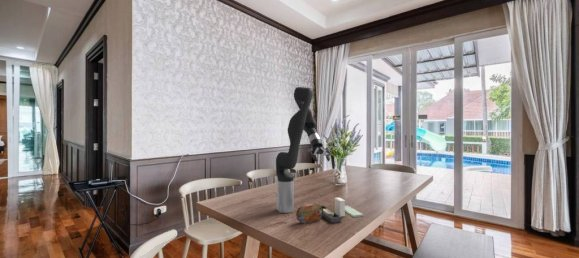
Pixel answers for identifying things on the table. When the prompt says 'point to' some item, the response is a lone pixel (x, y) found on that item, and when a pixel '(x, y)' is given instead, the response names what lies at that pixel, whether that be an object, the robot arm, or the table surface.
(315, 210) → the tin
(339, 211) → the white rectangular block
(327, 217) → the frame
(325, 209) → the offcut stack
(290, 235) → the table surface
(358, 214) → the board
